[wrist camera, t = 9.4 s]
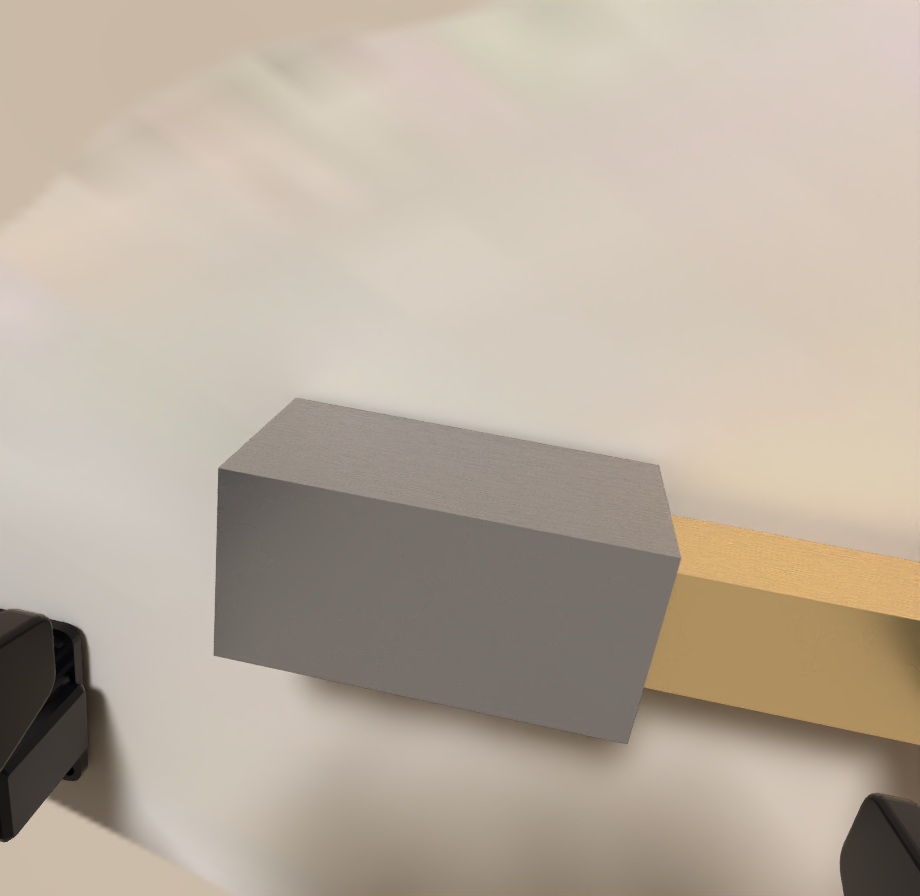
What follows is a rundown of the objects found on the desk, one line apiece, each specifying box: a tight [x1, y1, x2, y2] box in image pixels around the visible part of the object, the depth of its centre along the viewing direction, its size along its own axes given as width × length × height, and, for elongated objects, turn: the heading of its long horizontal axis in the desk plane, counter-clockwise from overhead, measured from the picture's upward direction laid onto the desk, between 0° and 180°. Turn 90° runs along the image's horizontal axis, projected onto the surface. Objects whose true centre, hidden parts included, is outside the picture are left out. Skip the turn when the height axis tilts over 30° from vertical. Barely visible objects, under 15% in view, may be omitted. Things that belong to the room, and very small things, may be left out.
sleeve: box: [214, 398, 681, 744], centre depth 20 cm, size 10×5×5 cm, turn 82°
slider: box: [644, 515, 920, 745], centre depth 16 cm, size 15×3×9 cm, turn 82°
